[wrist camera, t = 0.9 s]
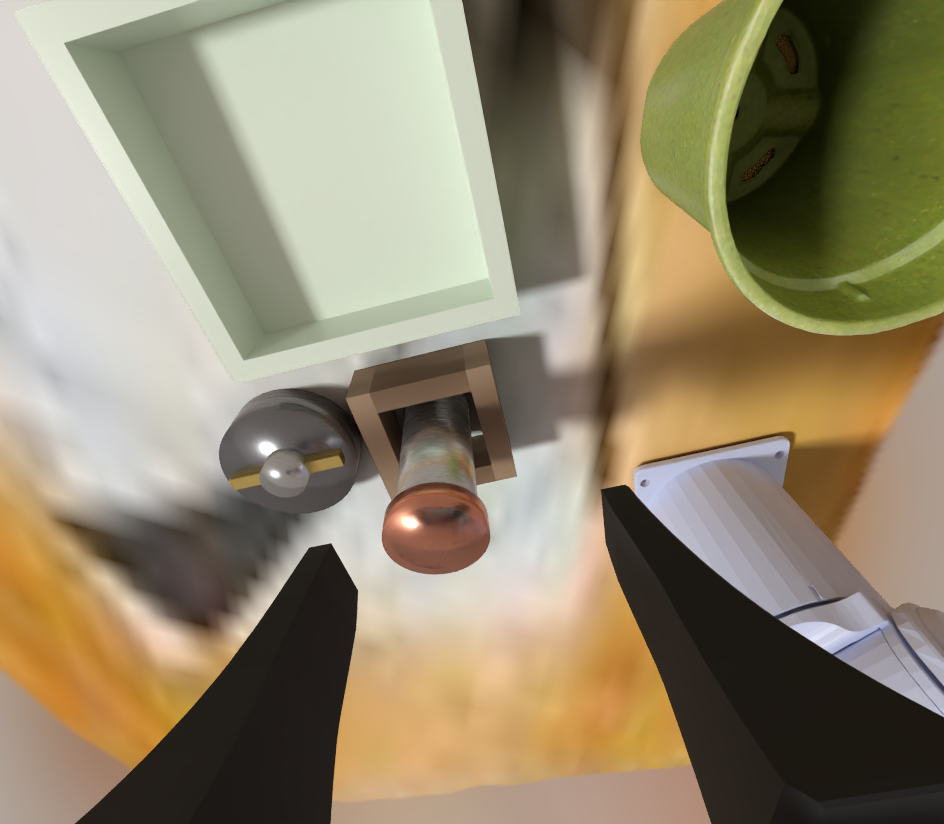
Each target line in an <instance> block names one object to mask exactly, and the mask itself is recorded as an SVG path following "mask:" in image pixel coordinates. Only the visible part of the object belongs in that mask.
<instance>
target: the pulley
mask: <svg viewBox="0 0 944 824" xmlns="http://www.w3.org/2000/svg"><path fill="white" fill-rule="evenodd" d="M360 455H361V438H360V434H359V432H358V429H357V427H356V425H355V423H354V422H353V421H352V419H351V418H350V416H349V415H348V414H347V413H346V412H345V411H344V410H343V409H341V408H340V407H339V406H338V405H336V404H335V403H333V402H332V401H330V400H328V399H326V398H324V397H322V396H319V395H317V394H314V393H310V392H307V391H301V390H291V389H285V390H276V391H270V392H267V393H264V394H261V395H259V396H257V397H255V398H254V399H252V400H251V401H249V402H248V403H247V404H246V405H245V406H244V407H243V408H242V410H241V411H240V412H239V414H238V415H237V417H236V418H235V420H234V421H233V423H232V424H231V426H230V427H229V429H228V430H227V432H226V433H225V435H224V437H223V439H222V441H221V444H220V449H219V459H220V464H221V468H222V470H223V472H224V474H225V476H226V478H227V479H228V481H229V482H230V483H231V485H232V486H233V488H234V489H235V490H237V491H238V492H240V493H241V494H242V495H243V496H245V497H246V498H248V499H249V500H251V501H252V502H254V503H256V504H258V505H261V506H263V507H266V508H268V509H272V510H275V511H280V512H285V513H311V512H317V511H320V510H324V509H326V508H329V507H331V506H333V505H335V504H336V503H338V502H339V501H341V500H342V499H343V498H344V497H345V496H346V495H347V494H348V492H349V491H350V490H351V488H352V486H353V484H354V480H355V477H356V473H357V468H358V464H359V460H360Z"/></svg>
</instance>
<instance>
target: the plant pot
mask: <svg viewBox="0 0 944 824" xmlns="http://www.w3.org/2000/svg"><path fill="white" fill-rule="evenodd" d="M779 35H785V36H788V37H789V39H790V40H791V41H792V42H793V43H794V47H795V49H796V51H797V54H798V60H799V67H798V70H797V73H795V74H791V73H790V71H789V68H788V66H787V64H786V60H785V57H784V55H783V53H782V52H781V50H780V49H779V48H777V46H776V38H777V36H779ZM737 108H738V116H737V118H736V119H735V115H736V111H737ZM640 144H641V152H642V157H643V161H644V164H645V167H646V169H647V172H648V174H649V176H650V178H651V180H652V181H653V183H654V184H655V186H656V187H657V188H658V189H659V190H660V191H661V192H662V193H663V194H664V195H665V196H666V197H668V198H669V199H670V200H671V201H673V202H674V203H675V204H676V205H677V206H679V207H680V208H681V209H682V210H684V211H685V212H686V213H687V214H688V215H690V216H691V217H692V218H693V219H695V220H696V221H697V222H698V223H699V224H701V225H702V226H703V227H704V228H706V229H707V230H708V231H709V232H710V233H711V237H712V240H713V243H714V246H715V249H716V251H717V254H718V257H719V259H720V261H721V263H722V265H723V267H724V269H725V271H726V272H727V274H728V276H729V277H730V279H731V281H732V282H733V283H734V284H735V286H736V287H737V288H738V289H739V291H740V292H741V293H742V294H743V295H744V296H745V297H746V298H747V299H748V300H749V301H751V302H752V303H753V304H754V305H756V306H757V307H758V308H759V309H761V310H762V311H763V312H765V313H766V314H768V315H769V316H771V317H773V318H774V319H777V320H779V321H781V322H783V323H785V324H787V325H790V326H792V327H795V328H798V329H802V330H805V331H808V332H813V333H819V334H827V335H864V334H873V333H878V332H882V331H887V330H892V329H895V328H899V327H903V326H906V325H908V324H911V323H915V322H918V321H921V320H924V319H927V318H930V317H933V316H936V315H938V314H940V313H942V312H944V0H724V1H722V2H721V3H720V4H718V5H717V6H716V7H714V8H713V9H712V10H710V11H709V12H708V13H706V14H705V15H703V16H702V17H701V18H699V19H698V20H697V21H696V22H694V23H693V24H692V25H690V26H689V27H688V28H687V29H686V30H685V31H684V32H683V33H682V34H681V35H680V37H679V38H678V39H677V40H676V41H675V42H674V44H673V45H672V46H671V48H670V49H669V50H668V52H667V53H666V55H665V56H664V58H663V59H662V61H661V63H660V64H659V66H658V68H657V69H656V71H655V73H654V76H653V78H652V80H651V82H650V85H649V87H648V91H647V96H646V102H645V108H644V114H643V121H642V129H641V139H640ZM771 148H775V150H774V153H775V154H774V157H773V158H772V159H771V160H770V161H769V162H768V163H767V164H766V165H765V166H764V167H763V168H762V169H761V171H760V172H759V173H758V174H757V175H755V176H754V177H753V178H751V179H749V180H747V181H743V180H741V177H742V174H743V173H745V172H746V171H748V170H749V169H750V168H751V167H752V166H754V165H755V164H756V163H757V162H758V161H759V160H760V159H761V158H763V156H765V155H766V154H767V152H768V151H769V150H770V149H771Z"/></svg>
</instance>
